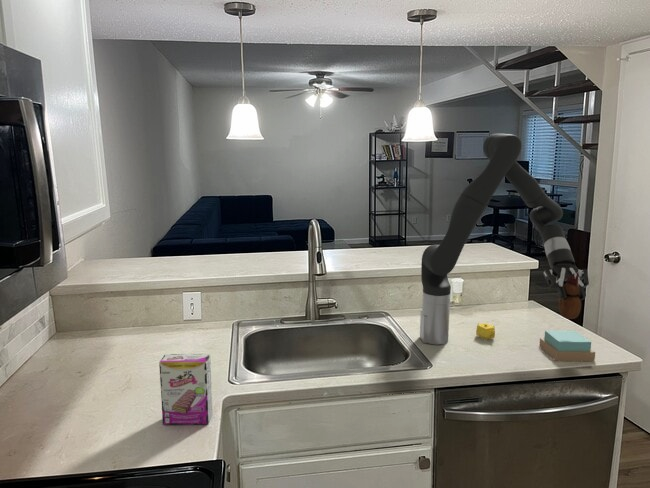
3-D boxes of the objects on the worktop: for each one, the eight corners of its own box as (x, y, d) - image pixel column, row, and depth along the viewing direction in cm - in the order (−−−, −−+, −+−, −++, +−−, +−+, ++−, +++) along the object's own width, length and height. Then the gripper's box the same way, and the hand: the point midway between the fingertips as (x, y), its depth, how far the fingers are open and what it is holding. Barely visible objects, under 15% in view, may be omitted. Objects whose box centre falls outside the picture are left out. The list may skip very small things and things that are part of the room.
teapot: (501, 340, 169) (502, 326, 168) (488, 343, 167) (489, 328, 166) (485, 332, 176) (486, 319, 175) (472, 335, 174) (473, 321, 173)
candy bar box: (162, 426, 116) (157, 362, 113) (168, 415, 121) (164, 353, 118) (209, 425, 116) (206, 361, 113) (213, 414, 121) (210, 352, 118)
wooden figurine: (583, 320, 153) (587, 274, 150) (564, 320, 153) (569, 274, 150) (572, 313, 159) (577, 269, 156) (554, 313, 159) (559, 269, 157)
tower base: (556, 361, 152) (557, 343, 151) (539, 346, 164) (540, 329, 163) (594, 361, 152) (596, 343, 151) (574, 346, 164) (576, 329, 163)
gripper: (541, 247, 159) (555, 293, 150) (585, 247, 159) (602, 293, 150) (533, 259, 165) (546, 304, 156) (575, 259, 166) (591, 304, 156)
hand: (573, 298), depth 153 cm, fingers closed on wooden figurine, 5 cm apart
